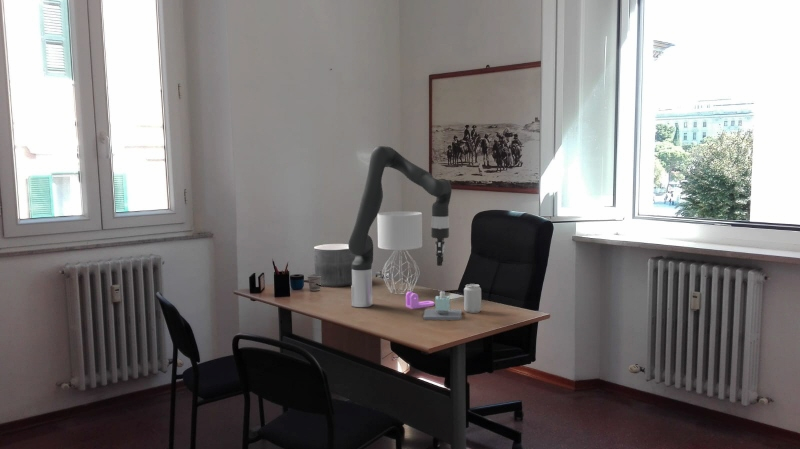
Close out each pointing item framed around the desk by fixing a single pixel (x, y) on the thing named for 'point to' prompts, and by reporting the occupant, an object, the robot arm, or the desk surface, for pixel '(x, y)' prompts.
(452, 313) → the post block
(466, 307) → the can
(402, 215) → the table lamp
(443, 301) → the collar
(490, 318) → the desk surface
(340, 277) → the planter
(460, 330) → the desk surface
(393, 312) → the desk surface
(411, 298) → the bracket
